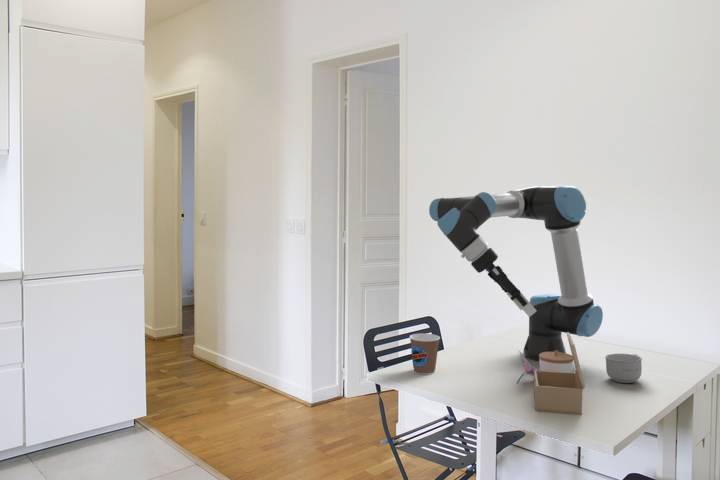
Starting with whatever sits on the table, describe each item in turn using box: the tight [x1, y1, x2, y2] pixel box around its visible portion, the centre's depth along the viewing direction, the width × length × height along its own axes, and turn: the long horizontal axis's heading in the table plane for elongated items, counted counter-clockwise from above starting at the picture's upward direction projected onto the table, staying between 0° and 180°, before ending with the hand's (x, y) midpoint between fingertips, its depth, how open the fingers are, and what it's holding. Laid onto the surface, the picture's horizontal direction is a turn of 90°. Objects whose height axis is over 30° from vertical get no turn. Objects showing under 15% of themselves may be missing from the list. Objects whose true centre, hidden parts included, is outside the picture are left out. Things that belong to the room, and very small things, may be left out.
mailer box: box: [533, 369, 584, 415], centre depth 176 cm, size 12×16×7 cm
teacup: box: [605, 353, 643, 384], centre depth 199 cm, size 14×11×8 cm
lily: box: [516, 350, 539, 384], centre depth 196 cm, size 12×12×10 cm
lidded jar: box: [538, 350, 574, 373], centre depth 200 cm, size 11×11×9 cm
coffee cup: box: [408, 333, 441, 376], centre depth 208 cm, size 10×10×12 cm
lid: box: [565, 332, 586, 390], centre depth 175 cm, size 12×16×1 cm
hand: (528, 310), depth 177 cm, fingers open, 13 cm apart
